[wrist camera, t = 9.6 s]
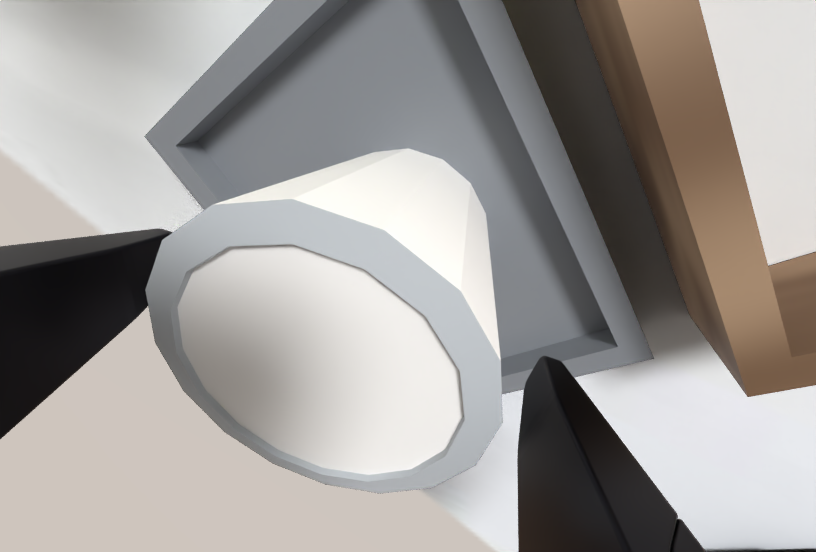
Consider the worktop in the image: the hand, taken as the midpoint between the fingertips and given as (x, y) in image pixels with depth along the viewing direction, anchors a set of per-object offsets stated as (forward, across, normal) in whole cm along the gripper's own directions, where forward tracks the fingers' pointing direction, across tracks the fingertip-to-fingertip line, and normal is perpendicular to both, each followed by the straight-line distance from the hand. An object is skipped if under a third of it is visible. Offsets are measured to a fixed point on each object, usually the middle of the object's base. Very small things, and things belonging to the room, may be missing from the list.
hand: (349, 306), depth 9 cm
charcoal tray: (+5, 0, 0) cm, 5 cm away
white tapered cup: (+5, 0, 0) cm, 5 cm away
